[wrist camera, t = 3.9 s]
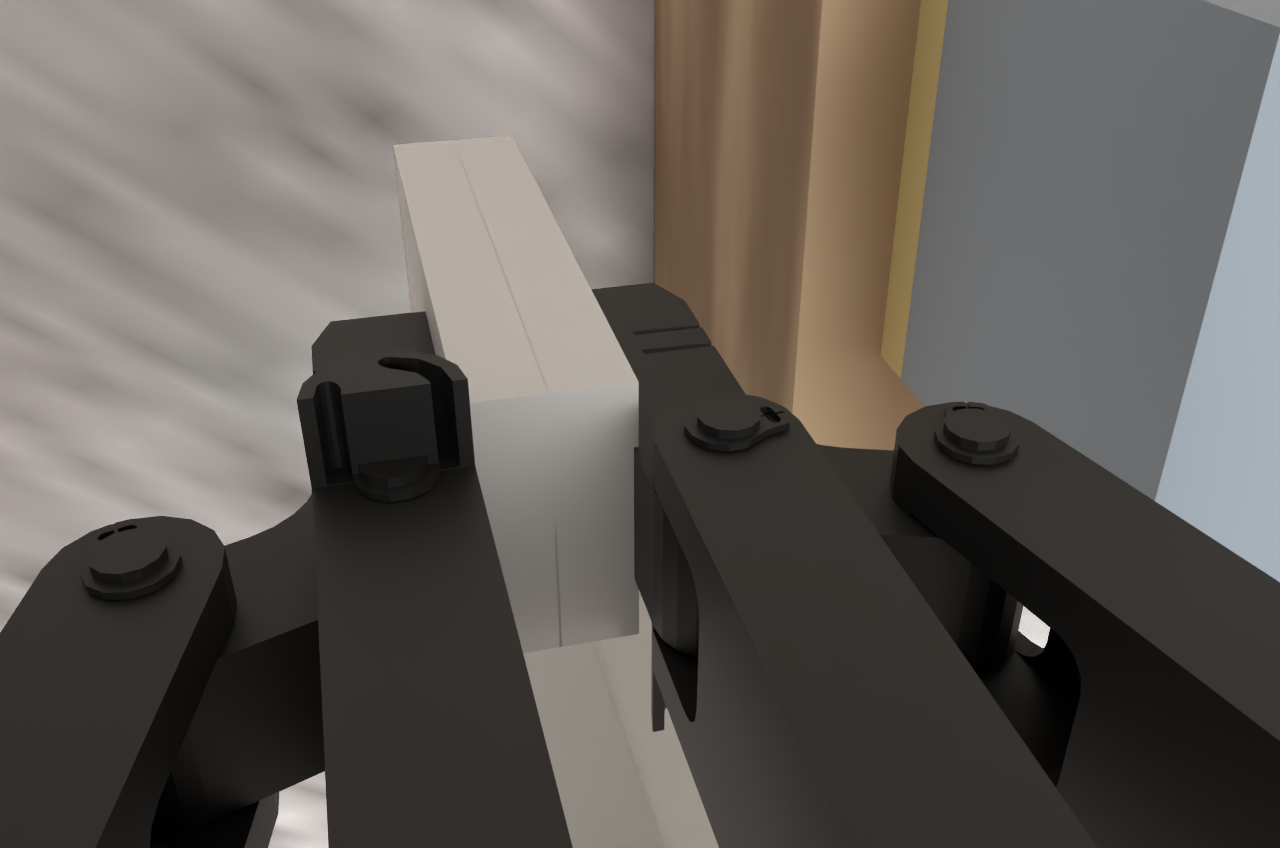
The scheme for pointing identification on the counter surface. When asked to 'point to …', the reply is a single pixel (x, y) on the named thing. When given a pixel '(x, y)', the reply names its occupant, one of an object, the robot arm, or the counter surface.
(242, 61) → the counter surface
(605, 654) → the skincare box
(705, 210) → the oak plinth
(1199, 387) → the slate-blue block
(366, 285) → the counter surface
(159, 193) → the counter surface
